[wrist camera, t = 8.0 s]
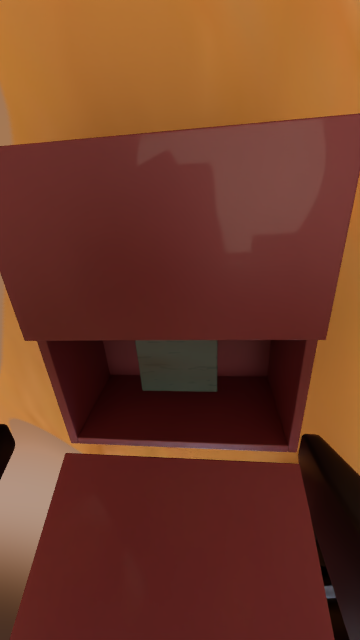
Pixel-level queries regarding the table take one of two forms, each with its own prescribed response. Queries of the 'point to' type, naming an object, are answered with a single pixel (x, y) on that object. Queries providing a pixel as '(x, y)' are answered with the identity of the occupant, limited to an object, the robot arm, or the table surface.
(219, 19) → the table surface
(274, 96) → the table surface
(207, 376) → the block
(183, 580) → the flap
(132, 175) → the dark red open box
